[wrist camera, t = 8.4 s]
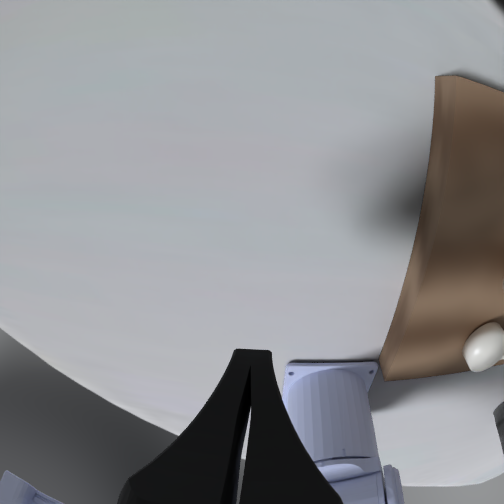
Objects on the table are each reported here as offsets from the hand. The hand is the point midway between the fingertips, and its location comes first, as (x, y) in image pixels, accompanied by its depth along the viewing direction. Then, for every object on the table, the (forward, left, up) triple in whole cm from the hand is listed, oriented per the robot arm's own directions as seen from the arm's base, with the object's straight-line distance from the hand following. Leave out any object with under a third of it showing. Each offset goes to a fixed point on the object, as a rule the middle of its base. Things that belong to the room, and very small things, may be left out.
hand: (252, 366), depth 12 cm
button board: (+1, -18, -9) cm, 20 cm away
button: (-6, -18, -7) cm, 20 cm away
